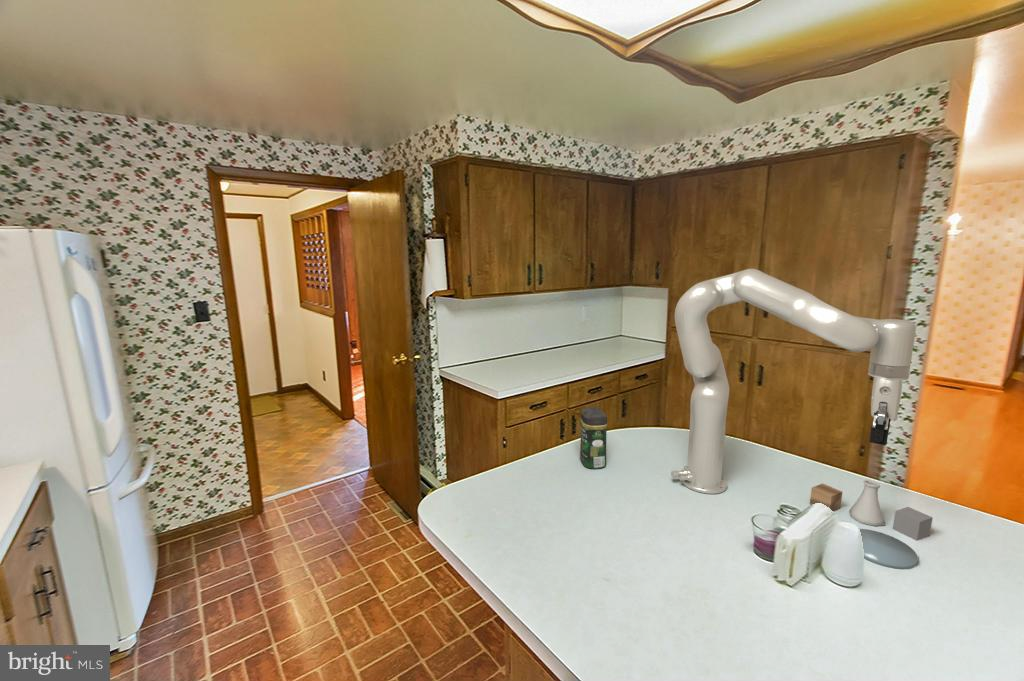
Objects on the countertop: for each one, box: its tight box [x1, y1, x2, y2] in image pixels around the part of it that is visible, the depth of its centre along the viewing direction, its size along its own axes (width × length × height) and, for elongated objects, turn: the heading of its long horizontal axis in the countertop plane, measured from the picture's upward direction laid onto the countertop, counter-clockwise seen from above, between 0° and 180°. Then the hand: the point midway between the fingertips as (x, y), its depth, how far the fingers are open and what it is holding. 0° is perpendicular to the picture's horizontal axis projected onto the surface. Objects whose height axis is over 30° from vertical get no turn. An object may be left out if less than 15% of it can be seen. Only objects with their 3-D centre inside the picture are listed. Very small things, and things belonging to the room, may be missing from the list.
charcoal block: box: [892, 506, 934, 542], centre depth 107 cm, size 5×5×5 cm
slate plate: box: [859, 528, 919, 570], centre depth 101 cm, size 13×13×1 cm
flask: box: [848, 479, 886, 527], centre depth 113 cm, size 7×7×10 cm
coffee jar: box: [579, 406, 608, 470], centre depth 144 cm, size 10×8×19 cm
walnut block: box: [809, 482, 843, 512], centre depth 119 cm, size 5×5×5 cm
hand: (879, 437), depth 109 cm, fingers open, 9 cm apart
